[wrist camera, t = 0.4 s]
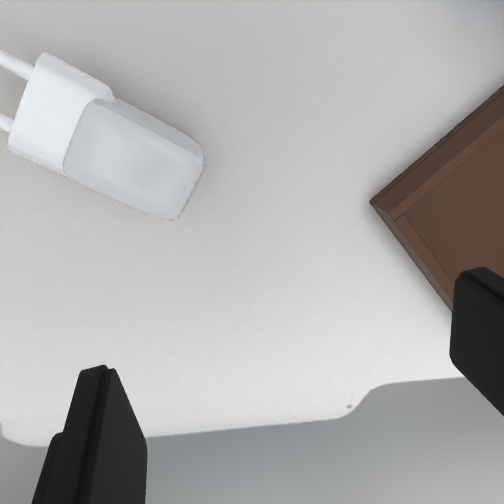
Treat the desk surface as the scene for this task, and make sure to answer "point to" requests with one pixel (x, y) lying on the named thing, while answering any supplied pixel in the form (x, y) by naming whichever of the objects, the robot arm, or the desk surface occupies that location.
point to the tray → (453, 201)
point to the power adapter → (100, 139)
